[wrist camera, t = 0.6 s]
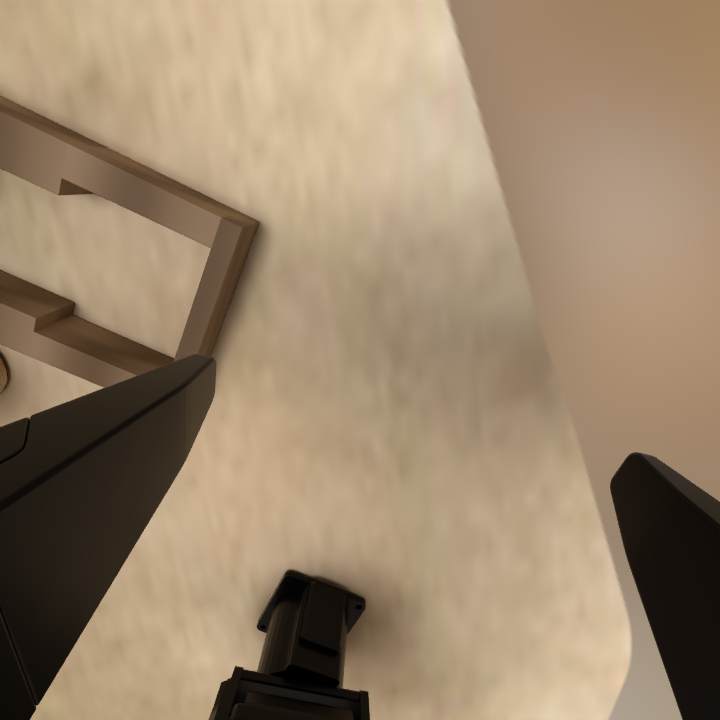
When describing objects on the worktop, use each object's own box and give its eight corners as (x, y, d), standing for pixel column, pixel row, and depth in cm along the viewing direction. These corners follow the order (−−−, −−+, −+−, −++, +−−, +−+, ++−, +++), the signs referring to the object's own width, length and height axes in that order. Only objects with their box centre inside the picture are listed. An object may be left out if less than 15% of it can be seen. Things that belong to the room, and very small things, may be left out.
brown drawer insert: (259, 221, 22) (242, 227, 20) (197, 392, 26) (175, 417, 24) (-28, 82, 21) (-91, 67, 18) (-48, 288, 25) (-102, 301, 22)
